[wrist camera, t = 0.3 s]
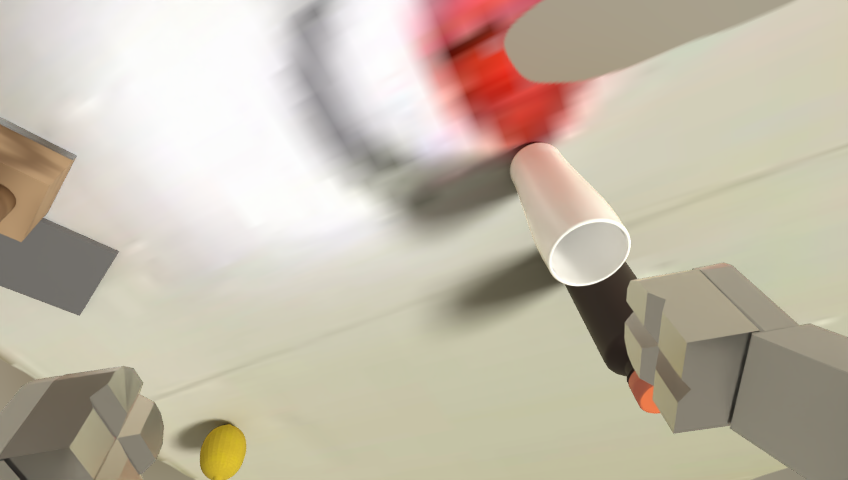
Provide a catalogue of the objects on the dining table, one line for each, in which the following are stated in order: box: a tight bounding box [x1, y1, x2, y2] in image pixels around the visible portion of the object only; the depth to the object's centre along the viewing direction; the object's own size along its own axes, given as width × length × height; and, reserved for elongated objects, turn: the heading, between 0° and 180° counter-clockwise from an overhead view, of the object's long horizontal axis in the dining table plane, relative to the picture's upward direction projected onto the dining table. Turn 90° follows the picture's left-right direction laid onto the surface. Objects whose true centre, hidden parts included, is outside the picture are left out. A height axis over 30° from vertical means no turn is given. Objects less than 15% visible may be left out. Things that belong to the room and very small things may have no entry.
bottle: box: [565, 262, 660, 413], centre depth 52 cm, size 7×7×20 cm
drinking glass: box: [510, 143, 631, 286], centre depth 46 cm, size 7×7×15 cm
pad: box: [0, 218, 119, 316], centre depth 52 cm, size 10×10×1 cm
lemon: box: [200, 424, 246, 480], centre depth 67 cm, size 6×6×8 cm
